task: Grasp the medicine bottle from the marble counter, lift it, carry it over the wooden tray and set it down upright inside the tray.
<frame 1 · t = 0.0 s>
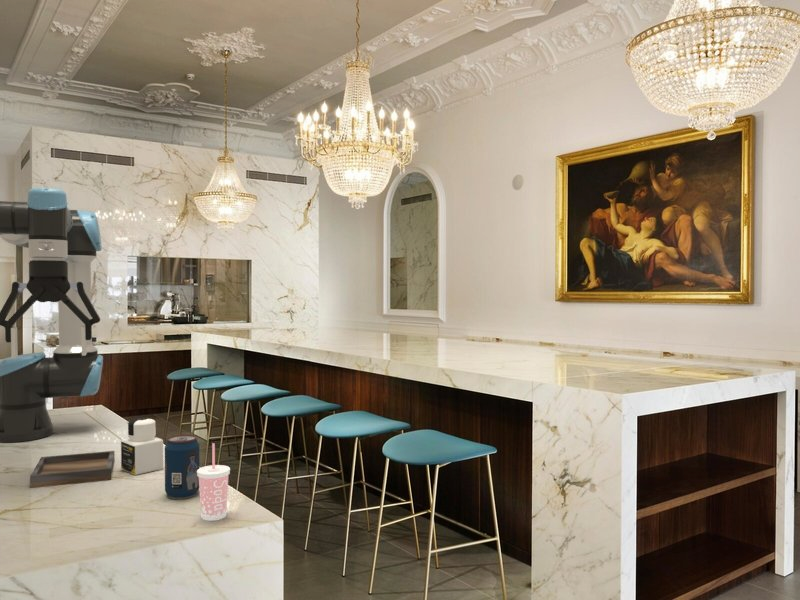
hand: (49, 356, 143), 28 cm above the worktop, fingers open, 13 cm apart
beverage cup: (213, 517, 124), on the worktop
soda can: (182, 495, 136), on the worktop
wooden tray: (75, 473, 150), on the worktop
medicine bottle: (142, 470, 154), on the worktop
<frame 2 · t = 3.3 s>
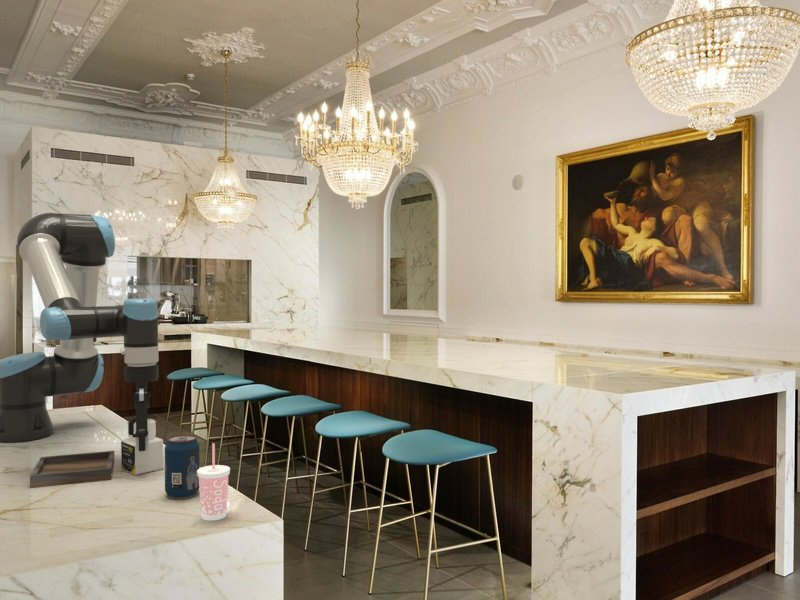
hand: (142, 458, 154), 3 cm above the worktop, fingers closed on medicine bottle, 9 cm apart
medicine bottle: (142, 470, 154), on the worktop, touching gripper
everything else where it was.
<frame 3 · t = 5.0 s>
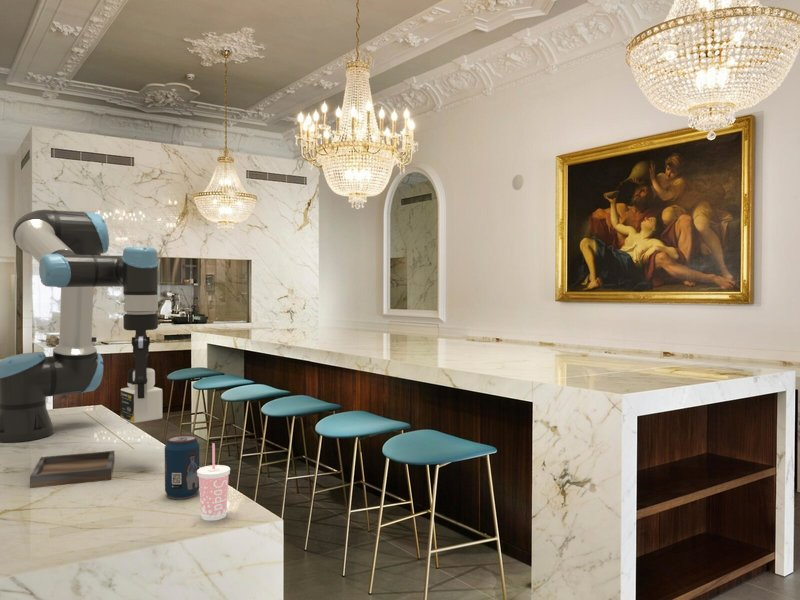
hand: (141, 407, 153), 15 cm above the worktop, fingers closed on medicine bottle, 9 cm apart
medicine bottle: (141, 419, 153), point 12 cm above the worktop, touching gripper
everything else where it was.
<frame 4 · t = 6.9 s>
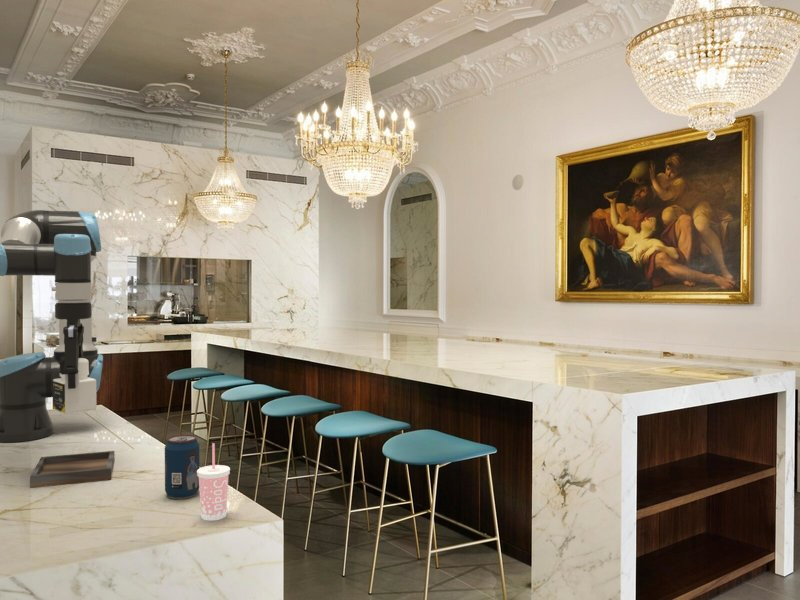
hand: (74, 398, 150), 17 cm above the worktop, fingers closed on medicine bottle, 9 cm apart
medicine bottle: (75, 410, 150), point 15 cm above the worktop, touching gripper
everything else where it was.
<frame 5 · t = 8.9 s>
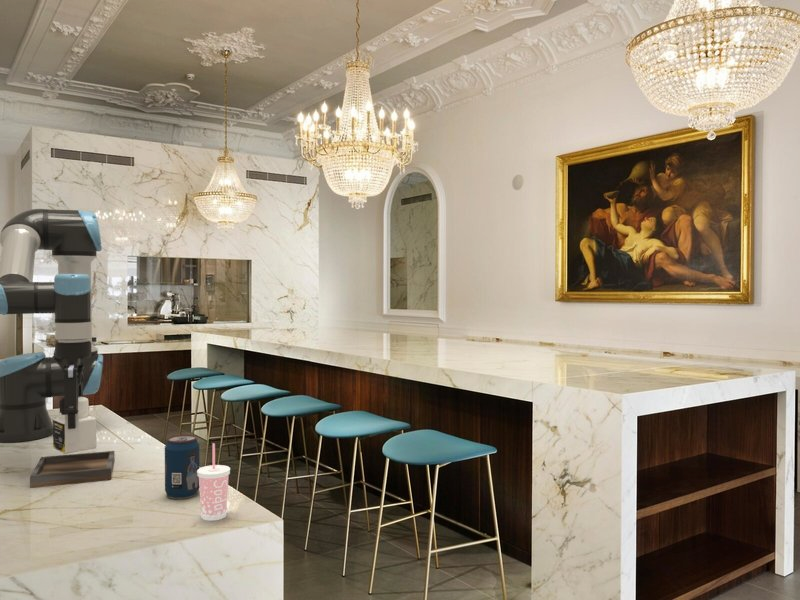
hand: (74, 437, 150), 8 cm above the worktop, fingers closed on medicine bottle, 9 cm apart
medicine bottle: (74, 449, 150), point 6 cm above the worktop, touching gripper
everything else where it was.
when the fingers open (5 cm above the worktop, at t = 10.7 s): medicine bottle drops 2 cm, resting on wooden tray.
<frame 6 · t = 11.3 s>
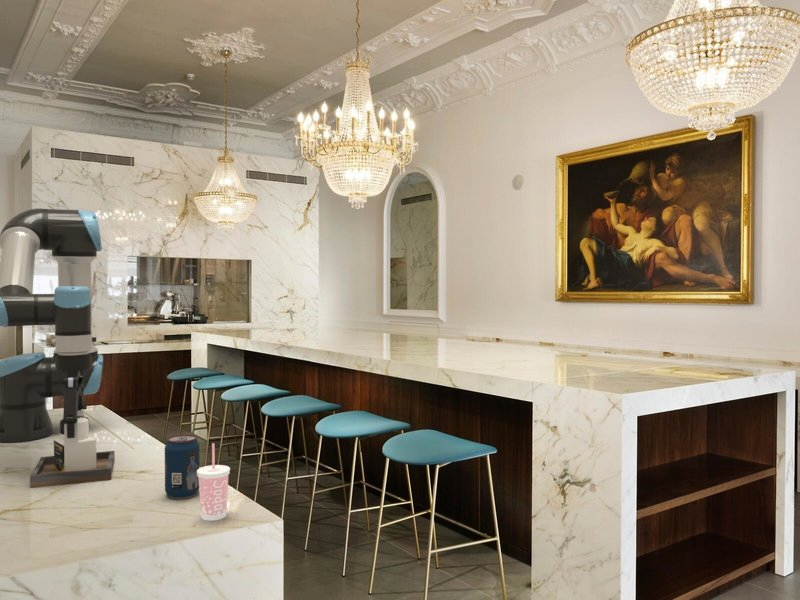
hand: (74, 444, 150), 7 cm above the worktop, fingers open, 13 cm apart
medicine bottle: (75, 469, 150), point 1 cm above the worktop, touching wooden tray
everything else where it was.
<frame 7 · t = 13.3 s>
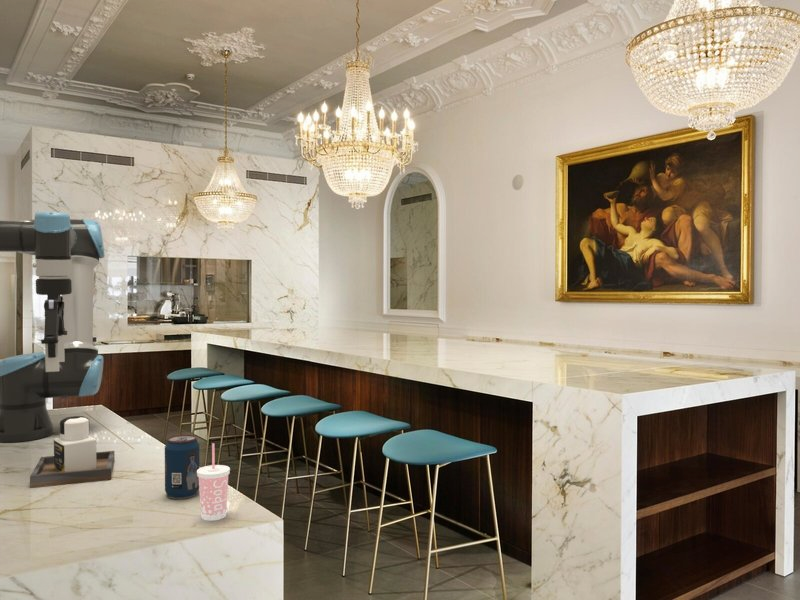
hand: (55, 366, 155), 24 cm above the worktop, fingers open, 13 cm apart
nothing on the worktop moved.
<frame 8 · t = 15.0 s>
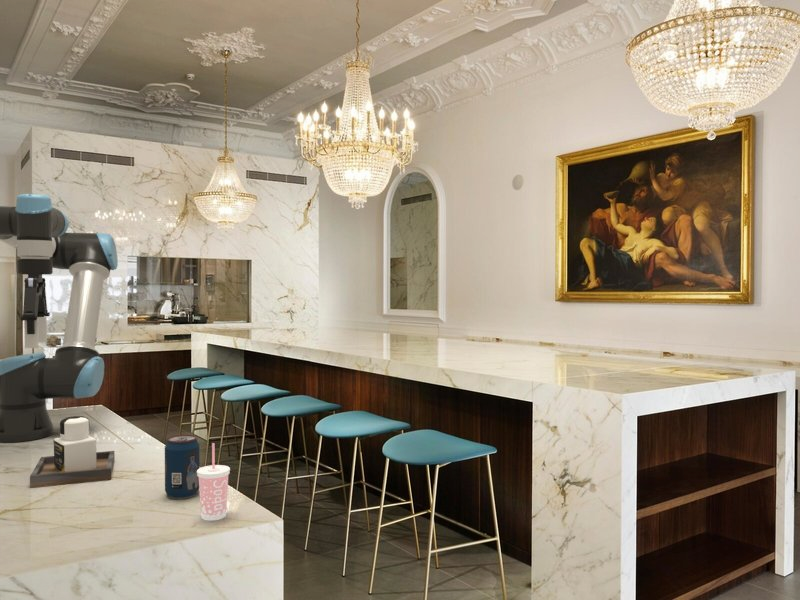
hand: (36, 345, 159), 29 cm above the worktop, fingers open, 13 cm apart
nothing on the worktop moved.
at the end: medicine bottle 0.1 cm off-centre on the wooden tray, point 0.8 cm above the wooden tray's base; medicine bottle tilted 0°; the gripper is holding nothing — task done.
